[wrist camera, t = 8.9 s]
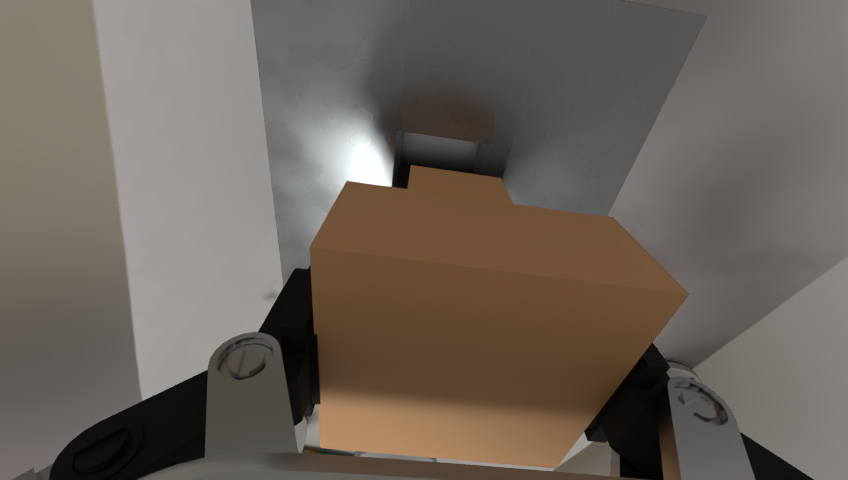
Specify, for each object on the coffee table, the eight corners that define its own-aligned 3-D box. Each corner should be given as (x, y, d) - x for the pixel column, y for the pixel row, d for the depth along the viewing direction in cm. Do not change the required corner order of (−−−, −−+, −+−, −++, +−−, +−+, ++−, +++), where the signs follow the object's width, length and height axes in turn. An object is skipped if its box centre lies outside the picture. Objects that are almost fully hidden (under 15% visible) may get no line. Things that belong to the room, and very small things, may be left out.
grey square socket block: (611, 22, 20) (707, 16, 13) (522, 260, 29) (550, 328, 23) (310, -32, 19) (242, -70, 12) (319, 235, 28) (284, 299, 21)
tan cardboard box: (545, 149, 14) (688, 294, 6) (500, 278, 17) (555, 468, 10) (378, 124, 13) (309, 246, 6) (369, 262, 17) (320, 447, 9)
